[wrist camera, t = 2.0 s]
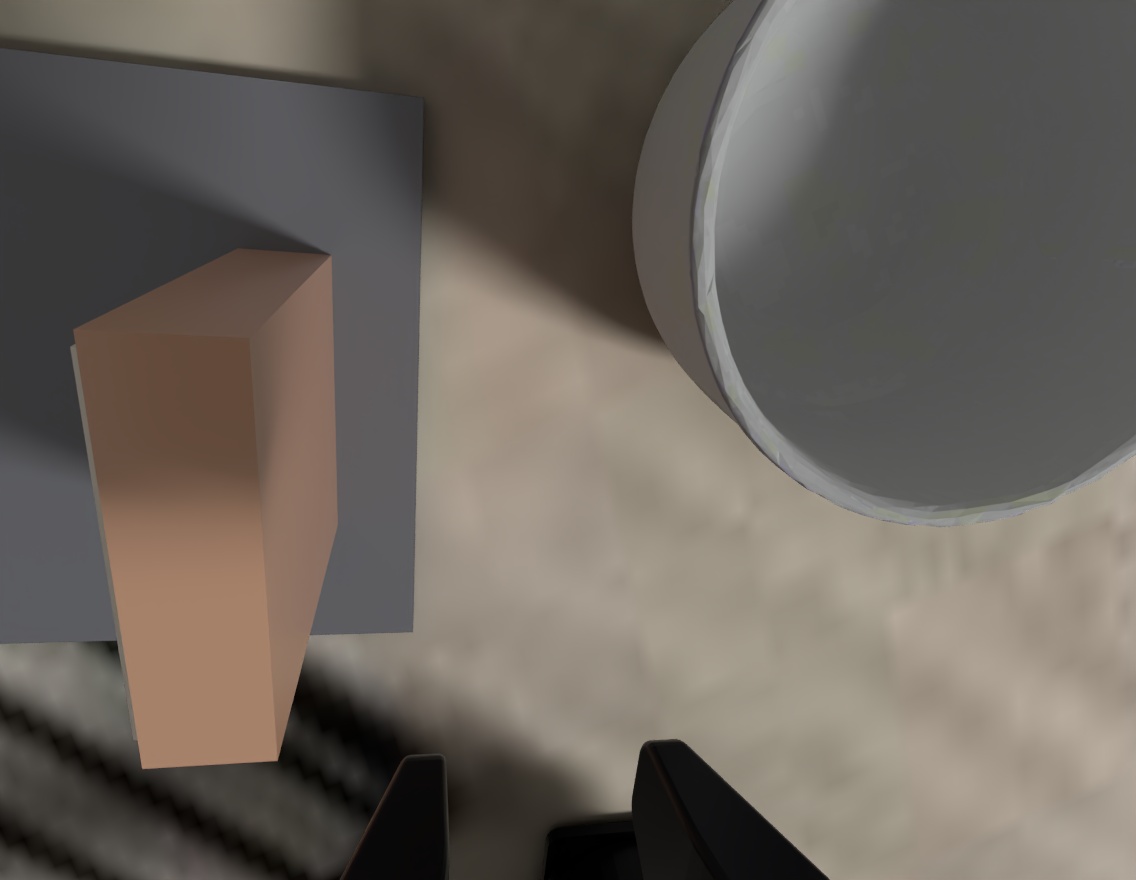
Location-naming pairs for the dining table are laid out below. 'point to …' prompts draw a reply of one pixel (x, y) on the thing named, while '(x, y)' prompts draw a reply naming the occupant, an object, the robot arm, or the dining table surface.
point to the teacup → (905, 245)
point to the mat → (174, 248)
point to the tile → (214, 495)
